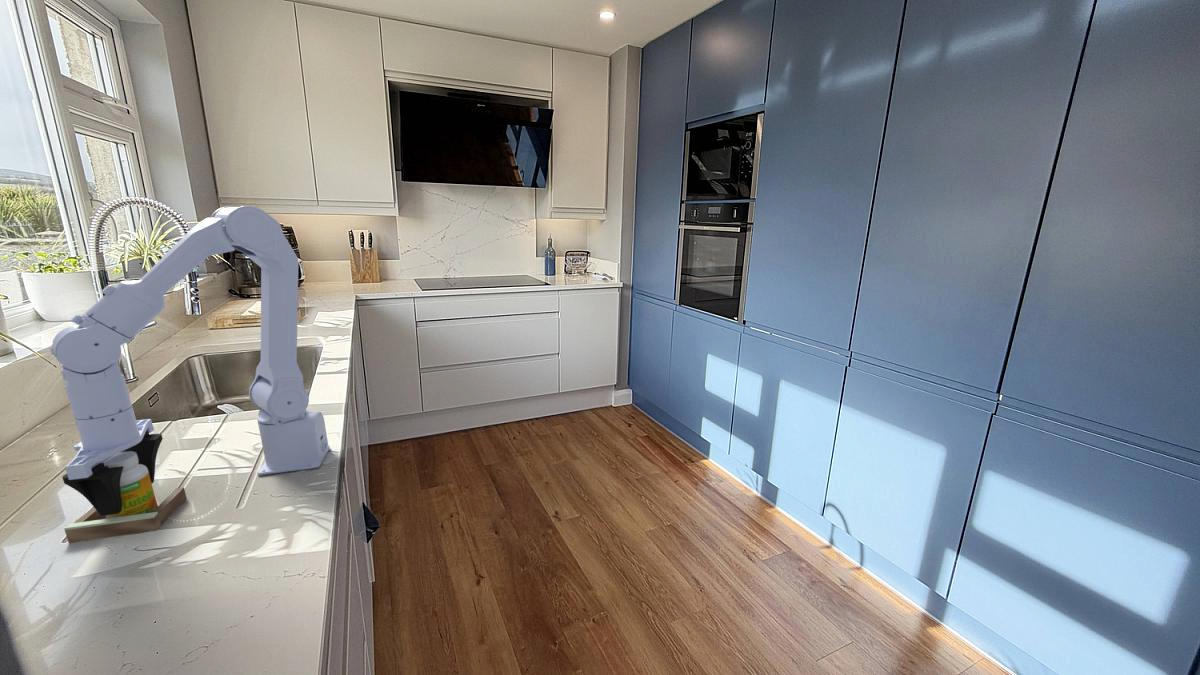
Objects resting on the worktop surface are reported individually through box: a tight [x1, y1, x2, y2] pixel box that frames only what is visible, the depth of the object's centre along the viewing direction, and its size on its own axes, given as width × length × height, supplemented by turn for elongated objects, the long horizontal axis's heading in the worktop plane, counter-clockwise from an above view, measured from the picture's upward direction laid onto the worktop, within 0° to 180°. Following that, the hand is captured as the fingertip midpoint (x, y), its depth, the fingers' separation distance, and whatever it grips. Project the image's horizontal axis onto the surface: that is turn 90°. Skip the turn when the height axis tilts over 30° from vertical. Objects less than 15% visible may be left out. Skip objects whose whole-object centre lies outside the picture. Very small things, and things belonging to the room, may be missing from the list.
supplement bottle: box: [104, 451, 159, 519], centre depth 70 cm, size 5×5×10 cm
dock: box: [64, 487, 188, 544], centre depth 71 cm, size 10×8×2 cm
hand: (128, 498), depth 71 cm, fingers open, 7 cm apart
